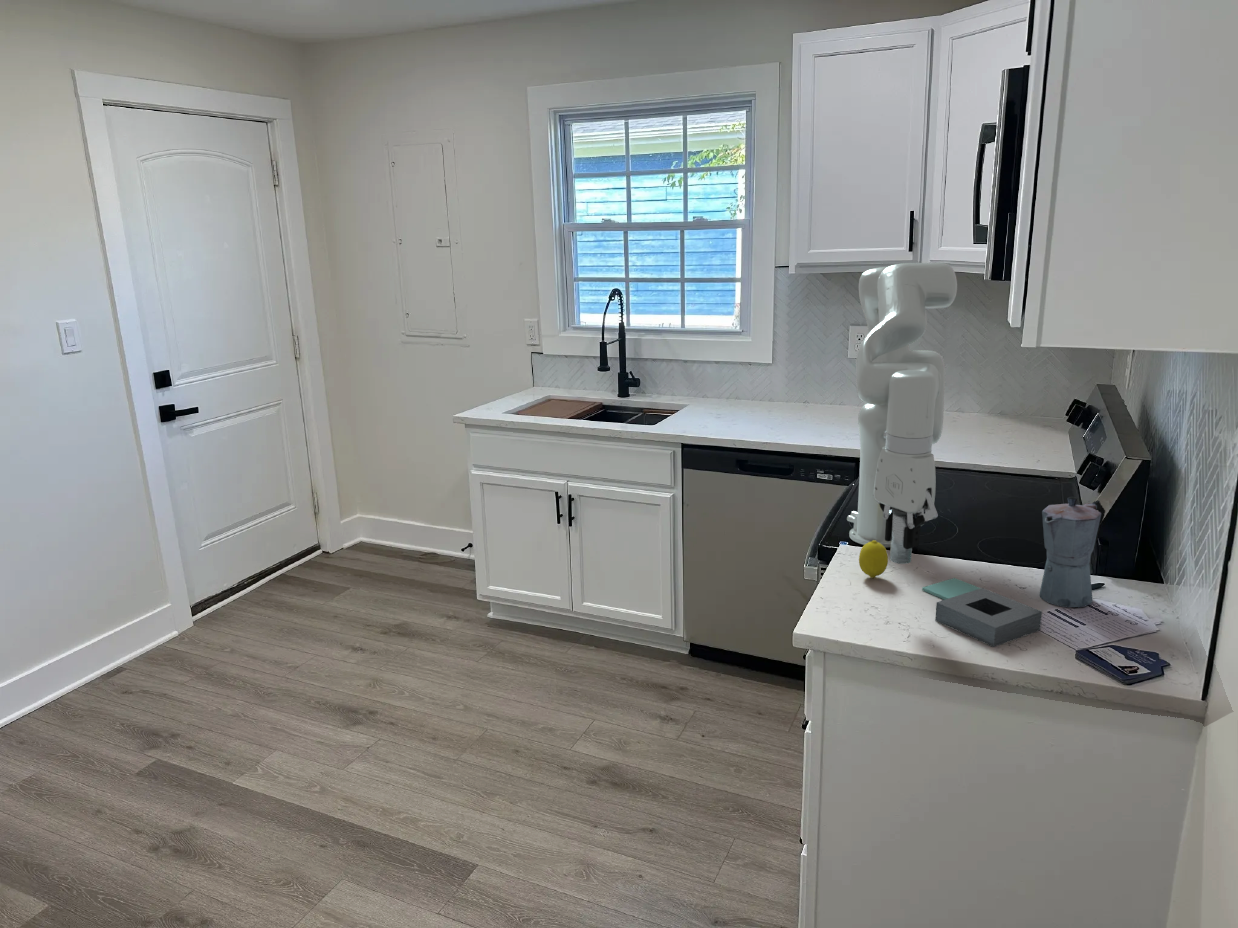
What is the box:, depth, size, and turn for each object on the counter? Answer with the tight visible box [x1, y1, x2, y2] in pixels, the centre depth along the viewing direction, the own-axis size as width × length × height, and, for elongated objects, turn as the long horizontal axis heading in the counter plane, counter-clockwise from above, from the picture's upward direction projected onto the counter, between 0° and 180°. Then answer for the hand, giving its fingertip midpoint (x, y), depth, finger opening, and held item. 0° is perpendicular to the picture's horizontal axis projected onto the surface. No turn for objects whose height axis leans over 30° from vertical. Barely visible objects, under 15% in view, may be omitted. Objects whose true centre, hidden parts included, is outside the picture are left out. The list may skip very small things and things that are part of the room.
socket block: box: [934, 587, 1043, 648], centre depth 147 cm, size 12×12×4 cm
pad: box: [921, 577, 981, 600], centre depth 161 cm, size 9×9×1 cm
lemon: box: [858, 540, 889, 579], centre depth 168 cm, size 6×6×8 cm
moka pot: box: [1039, 496, 1106, 608], centre depth 155 cm, size 10×15×20 cm, turn 119°
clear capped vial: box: [889, 507, 913, 565], centre depth 149 cm, size 4×4×10 cm
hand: (901, 542), depth 149 cm, fingers closed on clear capped vial, 3 cm apart
